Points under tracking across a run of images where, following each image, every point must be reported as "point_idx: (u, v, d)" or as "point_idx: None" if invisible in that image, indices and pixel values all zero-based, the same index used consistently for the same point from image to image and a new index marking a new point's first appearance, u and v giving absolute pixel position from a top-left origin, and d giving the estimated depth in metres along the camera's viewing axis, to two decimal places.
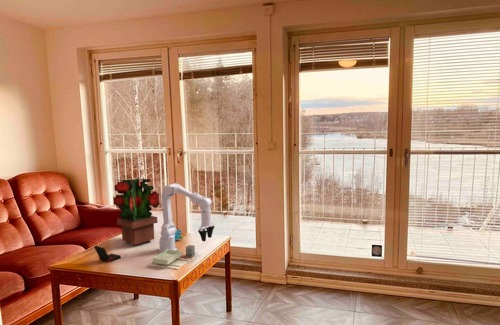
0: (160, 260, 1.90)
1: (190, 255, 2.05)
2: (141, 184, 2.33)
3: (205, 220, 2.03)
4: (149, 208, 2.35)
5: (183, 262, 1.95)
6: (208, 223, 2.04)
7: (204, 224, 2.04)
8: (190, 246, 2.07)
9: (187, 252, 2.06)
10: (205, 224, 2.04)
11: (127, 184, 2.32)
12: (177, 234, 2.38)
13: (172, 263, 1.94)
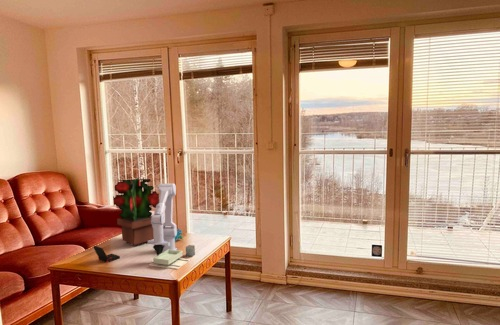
0: (161, 260, 1.89)
1: (190, 255, 2.05)
2: (141, 184, 2.33)
3: None
4: (149, 208, 2.35)
5: (183, 262, 1.95)
6: (154, 240, 1.96)
7: None
8: (190, 246, 2.07)
9: (187, 252, 2.06)
10: None
11: (127, 184, 2.32)
12: (177, 234, 2.39)
13: (172, 263, 1.94)
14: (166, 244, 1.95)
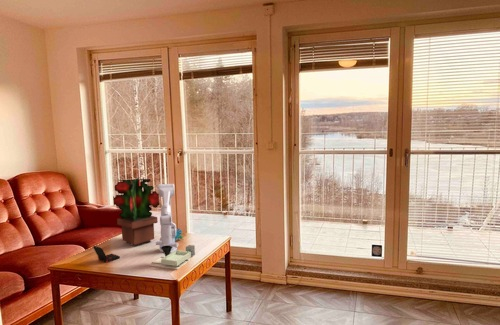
0: (169, 261, 1.87)
1: None
2: (141, 184, 2.33)
3: None
4: (149, 208, 2.35)
5: (183, 262, 1.95)
6: (162, 241, 1.94)
7: None
8: (190, 246, 2.07)
9: None
10: None
11: (127, 184, 2.32)
12: (177, 234, 2.39)
13: None
14: (174, 245, 1.93)
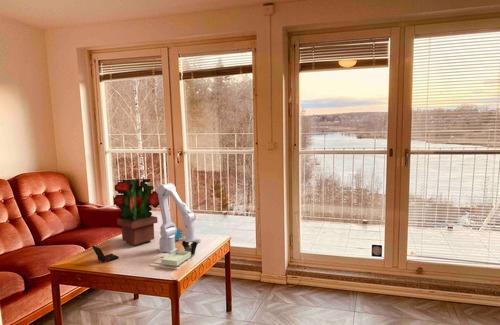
0: (169, 261, 1.88)
1: None
2: (141, 184, 2.33)
3: None
4: (149, 208, 2.35)
5: (183, 262, 1.95)
6: (185, 237, 2.05)
7: None
8: (190, 246, 2.07)
9: None
10: None
11: (127, 184, 2.32)
12: (178, 234, 2.39)
13: None
14: (197, 241, 2.04)
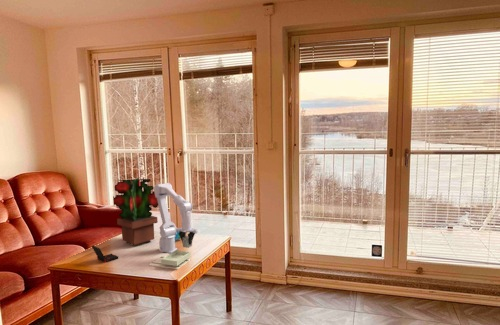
0: (169, 261, 1.88)
1: (187, 246, 2.02)
2: (141, 184, 2.33)
3: None
4: (149, 208, 2.35)
5: (183, 262, 1.95)
6: (182, 227, 2.02)
7: None
8: (187, 237, 2.04)
9: (184, 243, 2.03)
10: None
11: (127, 184, 2.32)
12: (178, 234, 2.39)
13: None
14: (194, 231, 2.01)
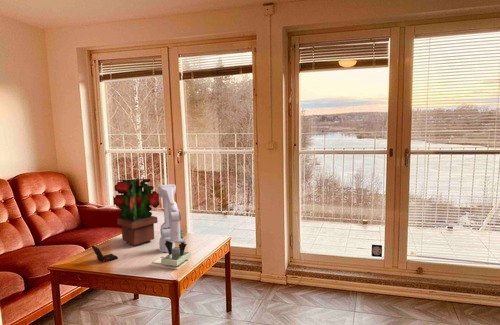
0: (169, 261, 1.88)
1: (176, 258, 1.93)
2: (141, 184, 2.33)
3: None
4: (149, 208, 2.35)
5: (183, 262, 1.95)
6: (171, 238, 1.92)
7: None
8: (176, 248, 1.94)
9: (173, 255, 1.93)
10: None
11: (127, 184, 2.32)
12: None
13: None
14: (183, 242, 1.91)
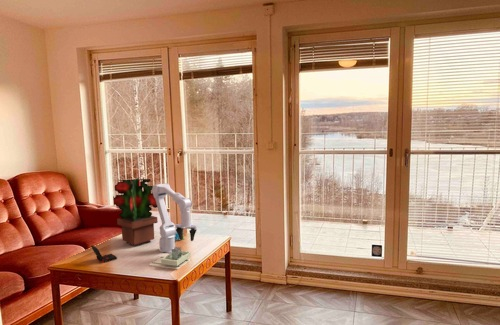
0: (169, 261, 1.88)
1: (176, 258, 1.93)
2: (141, 184, 2.33)
3: None
4: (149, 208, 2.35)
5: (183, 262, 1.95)
6: (181, 224, 2.03)
7: None
8: (176, 248, 1.94)
9: (173, 255, 1.93)
10: None
11: (127, 184, 2.32)
12: None
13: None
14: (194, 227, 2.02)
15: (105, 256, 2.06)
